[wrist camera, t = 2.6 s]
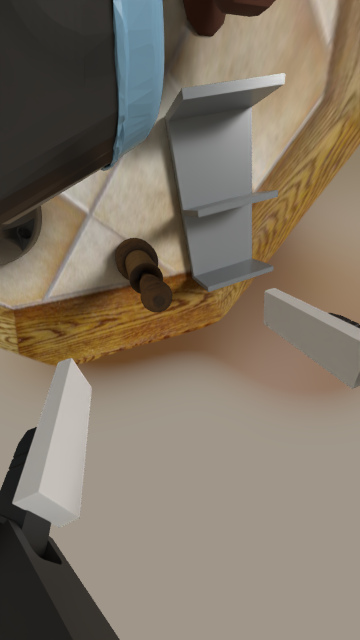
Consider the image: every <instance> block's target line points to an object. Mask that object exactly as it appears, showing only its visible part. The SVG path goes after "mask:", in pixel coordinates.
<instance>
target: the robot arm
mask: <svg viewBox="0 0 360 640" xmlns="http://www.w3.org/2000/svg"><path fill="white" fill-rule="evenodd" d="M163 78H164V21H163V1H162V0H0V265H3V264H6V263H9V262H11V261H13V260H15V259H17V258H19V257H21V256H22V255H24V254H25V253H27V252H28V251H29V250H30V249H31V248H32V247H33V245H34V244H35V243H36V241H37V239H38V237H39V234H40V230H41V225H42V213H41V206H40V205H42V204H43V203H45V202H47V201H48V200H50V199H52V198H53V197H55V196H57V195H58V194H60V193H62V192H63V191H65V190H67V189H68V188H70V187H72V186H73V185H75V184H77V183H78V182H80V181H82V180H83V179H85V178H87V177H88V176H90V175H92V174H93V173H95V172H97V171H98V170H100V169H101V170H103V171H105V170H108V169H110V168H112V167H113V166H114V164H115V163H116V162H117V161H118V159H119V158H120V157H121V156H123V155H124V154H126V153H127V152H129V151H130V150H132V149H133V148H135V147H136V146H138V145H139V144H141V143H142V142H143V141H144V140H145V139H146V138H147V136H148V135H149V132H150V130H151V129H152V128H153V125H154V123H155V121H156V119H157V116H158V112H159V108H160V103H161V97H162V89H163ZM264 300H265V301H264V324H265V325H266V326H268V327H269V328H270V329H272V330H273V331H274V332H276V333H277V334H278V335H280V336H281V337H282V338H284V339H285V340H287V341H288V342H289V343H291V344H292V345H294V346H295V347H296V348H297V349H299V350H300V351H302V352H303V353H304V354H305V355H307V356H308V357H310V358H311V359H312V360H314V361H315V362H316V363H318V364H319V365H320V366H322V367H323V368H324V369H326V370H327V371H328V372H330V373H331V374H333V375H334V376H335V377H337V378H338V379H339V380H341V381H342V382H343V383H345V384H346V385H347V386H349V387H350V388H351V389H353V388H356V387H358V386H360V325H359V324H358V323H356V322H354V321H351V320H350V319H347V318H345V317H343V316H341V315H336V314H333V313H326V312H324V311H322V310H320V309H318V308H316V307H313V306H311V305H309V304H307V303H305V302H303V301H301V300H299V299H297V298H294V297H292V296H290V295H288V294H286V293H284V292H282V291H280V290H278V289H276V288H273V289H270V290H267V291H265V299H264ZM91 391H92V387H91V386H90V385H89V383H88V382H87V380H86V379H85V377H84V376H83V374H82V373H81V371H80V370H79V368H78V367H77V365H76V364H75V362H74V361H73V359H72V358H70V359H67V360H64V361H61V362H58V364H57V367H56V371H55V374H54V377H53V380H52V383H51V386H50V389H49V392H48V395H47V398H46V401H45V404H44V407H43V410H42V414H41V416H40V420H39V423H38V426H37V427H35V428H33V429H30V430H28V431H27V432H26V433H25V435H24V436H23V438H22V439H21V441H20V442H19V444H18V446H17V448H16V451H15V454H14V456H13V457H14V459H13V460H12V462H11V464H10V467H9V471H8V472H7V475H6V477H5V480H4V482H3V485H2V488H1V490H0V640H119V638H118V637H117V635H116V634H115V632H114V630H113V629H112V628H111V626H110V624H109V623H108V621H107V620H106V618H105V617H104V615H103V614H102V612H101V611H100V609H99V608H98V607H97V605H96V604H95V602H94V601H93V599H92V597H91V596H90V594H89V593H88V591H87V590H86V588H85V587H84V585H83V584H82V582H81V581H80V579H79V578H78V576H77V575H76V573H75V572H74V570H73V569H72V567H71V566H70V564H69V563H68V561H67V560H66V558H65V557H64V555H63V554H62V552H61V551H60V549H59V548H58V546H57V545H56V543H55V542H54V540H53V539H52V538H51V537H49V531H50V526H51V524H53V525H55V526H57V527H61V526H64V525H66V524H68V523H70V522H72V521H74V520H76V519H78V518H80V509H81V499H82V488H83V477H84V465H85V455H86V445H87V434H88V423H89V412H90V402H91Z"/></svg>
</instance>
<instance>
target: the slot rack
mask: <svg viewBox="0 0 360 640" xmlns="http://www.w3.org/2000/svg"><path fill="white" fill-rule="evenodd" d="M284 83H285V73H282V74H275V75H268V76H262V77H255V78H248V79H241V80H234V81H228V82H221V83H214V84H207V85H201V86H194V87H187V88H182V89H181V91H180V92H179V94H178V95H177V97H176V99H175V100H174V102H173V104H172V105H171V107H170V108H169V110H168V112H167V113H166V115H165V121H166V127H167V133H168V139H169V145H170V151H171V156H172V162H173V168H174V174H175V180H176V186H177V191H178V197H179V203H180V209H181V215H182V221H183V226H184V232H185V238H186V244H187V250H188V256H189V261H190V267H191V273H192V279H194V280H195V281H196V282H197V283H198V284H200V285H201V286H202V287H203V288H204V289H206V290H207V291H208V292H210V291H213V290H216V289H219V288H222V287H225V286H228V285H231V284H234V283H237V282H240V281H243V280H246V279H249V278H252V277H255V276H258V275H261V274H264V273H267V272H270V271H273V266H272V265H269V264H266V263H263V262H261V261H258V260H255V259H252V203H255V202H259V201H263V200H267V199H271V198H275V197H278V190H273V191H264V192H254V193H252V106H254V105H255V104H257V103H258V102H259V101H261V100H262V99H264V98H265V97H266V96H268V95H269V94H271V93H272V92H274V91H275V90H276V89H278V88H279V87H281V86H282V85H283V84H284Z"/></svg>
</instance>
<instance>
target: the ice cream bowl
mask: <svg viewBox="0 0 360 640" xmlns="http://www.w3.org/2000/svg"><path fill="white" fill-rule="evenodd" d="M183 1H184V6H185V10H186V15H187V19H188V21H189V22H190V23H191V25H192V26H193V27H194V28H195V30H196V31H197V32H198V34H199V35H207V36H213V35H214V34H215V33H216V32H217V30H218V29H219V28H220V27H221V26H222V25H223V23H224V20H225V15H226V14H233V15H241V16H248V17H251V16H258V15H260V14H261V13H262V12H264V11H265V10H266V9H268V8H269V7H270V6H271V5H272V4H273V2H274V1H275V0H183Z"/></svg>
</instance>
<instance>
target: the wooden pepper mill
mask: <svg viewBox="0 0 360 640" xmlns="http://www.w3.org/2000/svg"><path fill="white" fill-rule="evenodd" d="M116 264H117V267H118V270H119V272H120V273H121V274H122V276H123V277H125V278H126V279H128V280H129V281H130V284H131V286H132V288H133V289H134V290H135V291H136V292H138V293H140V294H141V301H142V303H143V305H144V306H145V308H147V309H148V310H150V311H152V312H162V311H164V310H166V309H167V308H168V307H169V306H170V304H171V302H172V291H171V289H170V287H169V286H168V285H167V284H166V283H164V282H163V275H162V272H161V271H160V269H159V268H158V257H157V254H156V252H155V250H154V249H153V248H152V247H151V245H150V244H148V243H147V242H146V241H144V240H142V239H138V238H130V239H127V240H125V241H123V242H122V243H121V244H120V245H119V247H118V249H117V251H116Z"/></svg>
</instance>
